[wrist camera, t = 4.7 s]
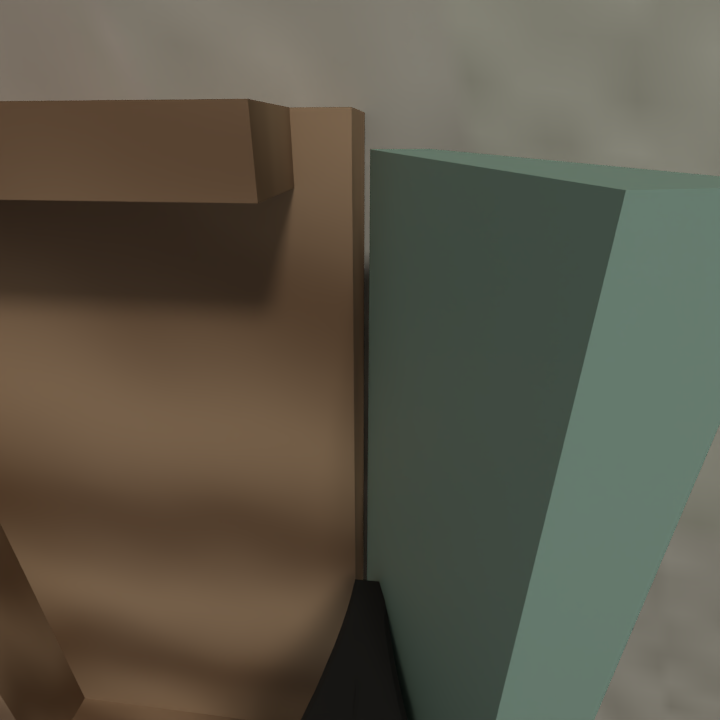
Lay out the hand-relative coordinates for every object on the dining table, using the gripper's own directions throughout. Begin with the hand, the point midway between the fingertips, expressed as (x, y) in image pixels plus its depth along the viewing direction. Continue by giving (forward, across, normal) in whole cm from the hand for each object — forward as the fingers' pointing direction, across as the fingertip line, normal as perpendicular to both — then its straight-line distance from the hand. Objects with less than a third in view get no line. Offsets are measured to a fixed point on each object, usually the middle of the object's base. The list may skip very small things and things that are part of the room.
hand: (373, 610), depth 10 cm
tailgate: (+2, 0, 0) cm, 2 cm away
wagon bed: (+3, +6, 0) cm, 7 cm away
